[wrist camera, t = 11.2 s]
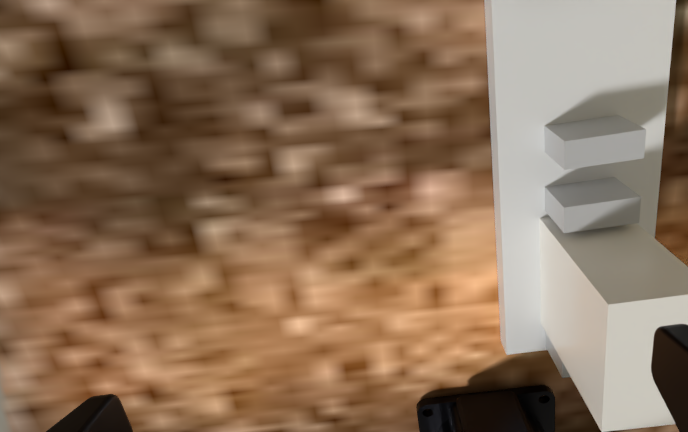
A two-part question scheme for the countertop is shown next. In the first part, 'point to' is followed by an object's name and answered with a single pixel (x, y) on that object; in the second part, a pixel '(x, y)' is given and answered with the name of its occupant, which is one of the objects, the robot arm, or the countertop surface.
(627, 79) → the block
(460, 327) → the countertop surface
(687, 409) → the robot arm
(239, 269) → the countertop surface
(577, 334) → the block
